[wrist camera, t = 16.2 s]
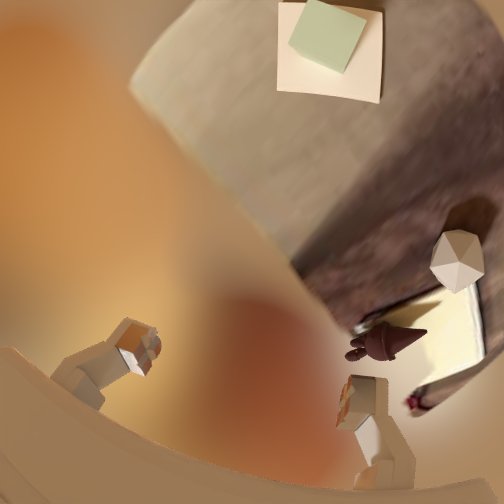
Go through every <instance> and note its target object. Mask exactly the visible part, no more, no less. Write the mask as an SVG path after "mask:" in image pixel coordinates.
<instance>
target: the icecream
mask: <svg viewBox="0 0 504 504" xmlns="http://www.w3.org/2000/svg"><path fill="white" fill-rule="evenodd" d="M426 333H427V330H426V329H413V328H402V327H392V326H389V323H388V322H387V321H386V322H384V323H383V325H378V326H374V327H373V328H372V329H371V330H370V332H369V333H368V334H365V335H363V337H359V338H356V339H353V340H351V342H350V345H351V346H352V347H356V348H357V349H354V350H352V351H349V352H348V353H347V354H346V355H345V358H346V359H347V360H348V361H357V360H359V359H360V358H362V357H364V356H366V355H367V354H368V356H370V357H372V358H373V359H375V360H378V361H386V360H389V361H391V360H394V359H395V355H394V354H396V353H397V352H399V351H401V350H402V349H404V348H405V347H407V346H409V345H410V344H412V343H413V342H415V341H416V340H418V339H419V338H421V337H422V336H424V335H425V334H426ZM361 347H364V348H361Z"/></svg>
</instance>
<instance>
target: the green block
mask: <svg viewBox="0 0 504 504" xmlns="http://www.w3.org/2000/svg"><path fill="white" fill-rule="evenodd" d="M366 22H367V20H364V19H362V18H360V17H358V16H356V15H353V14H351V13H349V12H346V11H344V10H342V9H339V8H337V7H334V6H331V5H329V4H326V3H323V2H321V1H318V0H308V1H307V3H306V5H305V7H304V9H303V11H302V13H301V15H300V17H299V20H298V22H297V24H296V26H295V28H294V31H293V33H292V35H291V37H290V39H289V42H288V44H289V45H290V46H291V47H292V48H293V49H294V50H295V51H296V52H297V53H298V54H299V55H300V56H301V57H303V58H305V59H308V60H310V61H313V62H315V63H317V64H320V65H322V66H324V67H327V68H329V69H331V70H333V71H335V72H337V73H340V74H342V75H343V73H344V70H345V68H346V66H347V64H348V62H349V60H350V58H351V56H352V53H353V51H354V49H355V47H356V45H357V43H358V41H359V38H360V36H361V34H362V31H363V29H364V27H365V24H366Z"/></svg>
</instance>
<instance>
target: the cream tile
mask: <svg viewBox="0 0 504 504" xmlns="http://www.w3.org/2000/svg"><path fill="white" fill-rule="evenodd" d="M305 5H306V3H289V2H279V19H278V74H277V91H291V92H304V93H314V94H323V95H331V96H338V97H345V98H351V99H357V100H363V101H368V102H374V103H379V98H380V85H381V68H382V13H381V12H376V11H371V10H365V9H359V8H353V7H346V6H337V5H331V6H334V7H337V8H339V9H342V10H344V11H346V12H349V13H351V14H353V15H356V16H358V17H360V18H362V19H364V20H367V22H366V24H365V27H364V29H363V31H362V34H361V36H360V38H359V41H358V43H357V45H356V47H355V49H354V51H353V53H352V56H351V58H350V60H349V62H348V64H347V66H346V68H345V70H344V73H343V75H342V74H340V73H337V72H335V71H333V70H331V69H329V68H327V67H324V66H322V65H320V64H317V63H315V62H313V61H310V60H308V59H305V58H303V57H301V56H300V55H299V54H298V53H297V52H296V51H295V50H294V49H293V48H292V47H291V46H290V45H289V44H288V42H289V39H290V37H291V35H292V33H293V31H294V28H295V26H296V24H297V22H298V20H299V17H300V15H301V13H302V11H303V9H304V7H305Z"/></svg>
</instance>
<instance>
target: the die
mask: <svg viewBox="0 0 504 504" xmlns="http://www.w3.org/2000/svg"><path fill="white" fill-rule="evenodd" d="M430 269H431V270H432V272H433V273H434V274H435V276H436V277H437V279H438V280H439V281H440V282H441V283H442V284H443V285H444V286H446V287H447V288H448V289H449V290H451V291H452V292H453V293H454V294H455V293H457V292H459V291H461V290H462V289H464V288H466V287H468V286H470V285H471V284H472V283H474V282H475V281H476V280H478V279H479V278H480V277H481V276H483V275H484V261H483V252H482V248H481V245H480V242H479V239H478V236H477V235H475V234H472V233H469V232H466V231H463V230H460V229H458V230H453V231H447V232H443V233H442V235H441V237H440V238H439V240H438V241H437V243H436V244H435V246H434V247H433V253H432V259H431V264H430Z"/></svg>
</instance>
